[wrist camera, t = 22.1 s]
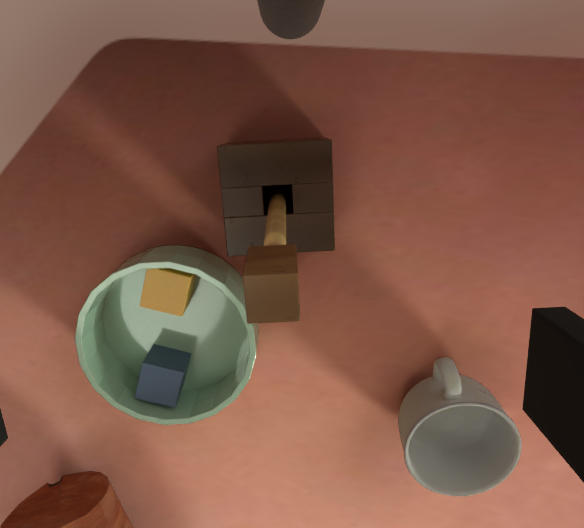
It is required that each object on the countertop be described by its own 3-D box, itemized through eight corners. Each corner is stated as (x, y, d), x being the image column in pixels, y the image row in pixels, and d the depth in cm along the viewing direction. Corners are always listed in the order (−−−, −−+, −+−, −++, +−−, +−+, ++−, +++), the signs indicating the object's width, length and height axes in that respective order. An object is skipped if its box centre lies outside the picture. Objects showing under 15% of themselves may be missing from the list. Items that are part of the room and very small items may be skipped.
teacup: (482, 444, 53) (515, 498, 45) (386, 447, 53) (403, 502, 45) (493, 331, 49) (532, 370, 42) (390, 335, 49) (410, 373, 41)
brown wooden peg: (263, 173, 44) (242, 275, 22) (291, 172, 44) (297, 272, 22) (265, 200, 45) (246, 324, 23) (292, 199, 45) (300, 321, 23)
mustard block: (158, 254, 45) (146, 266, 42) (199, 264, 46) (191, 277, 42) (151, 291, 47) (139, 306, 43) (190, 301, 47) (182, 317, 43)
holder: (227, 142, 43) (216, 145, 37) (324, 137, 43) (331, 139, 37) (235, 237, 46) (227, 256, 39) (327, 232, 46) (334, 250, 39)
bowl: (87, 249, 46) (59, 267, 40) (252, 240, 46) (247, 257, 40) (114, 394, 51) (92, 429, 45) (264, 386, 51) (261, 419, 45)
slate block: (153, 343, 48) (142, 362, 44) (191, 353, 48) (183, 372, 45) (146, 377, 49) (134, 398, 45) (183, 386, 50) (174, 407, 46)
